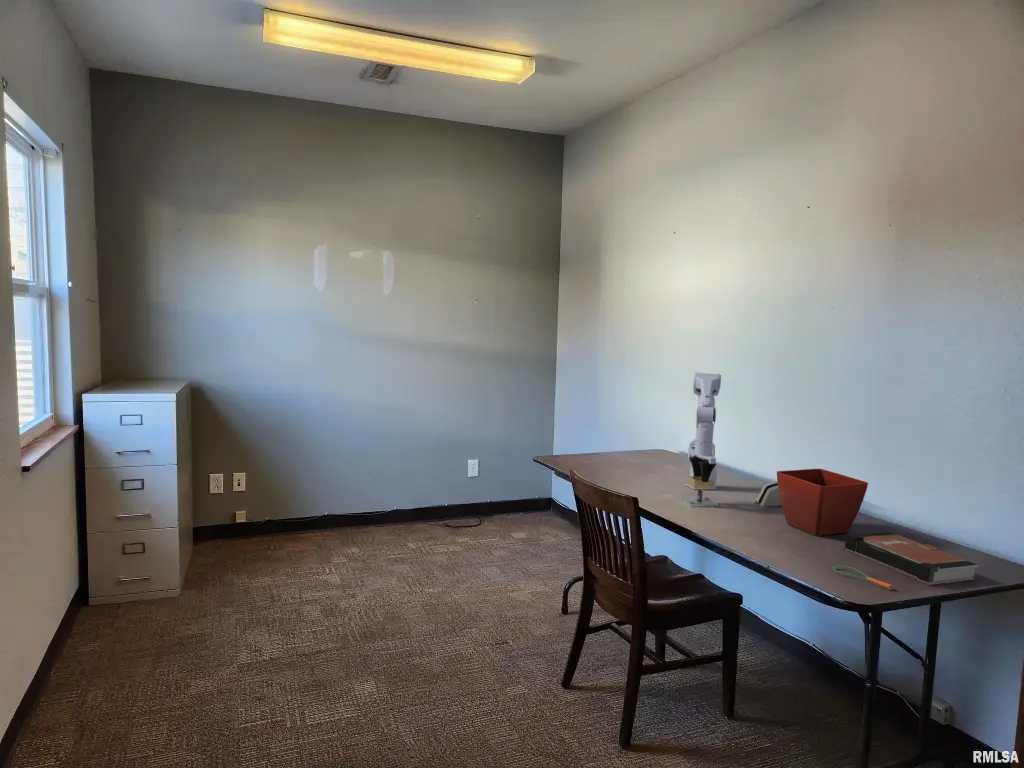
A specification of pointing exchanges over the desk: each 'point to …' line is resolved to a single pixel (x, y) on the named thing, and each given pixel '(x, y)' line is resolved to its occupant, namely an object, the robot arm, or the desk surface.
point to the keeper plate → (699, 501)
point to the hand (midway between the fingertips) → (700, 479)
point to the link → (699, 482)
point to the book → (910, 556)
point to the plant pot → (820, 500)
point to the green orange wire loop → (867, 578)
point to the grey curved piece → (769, 495)
